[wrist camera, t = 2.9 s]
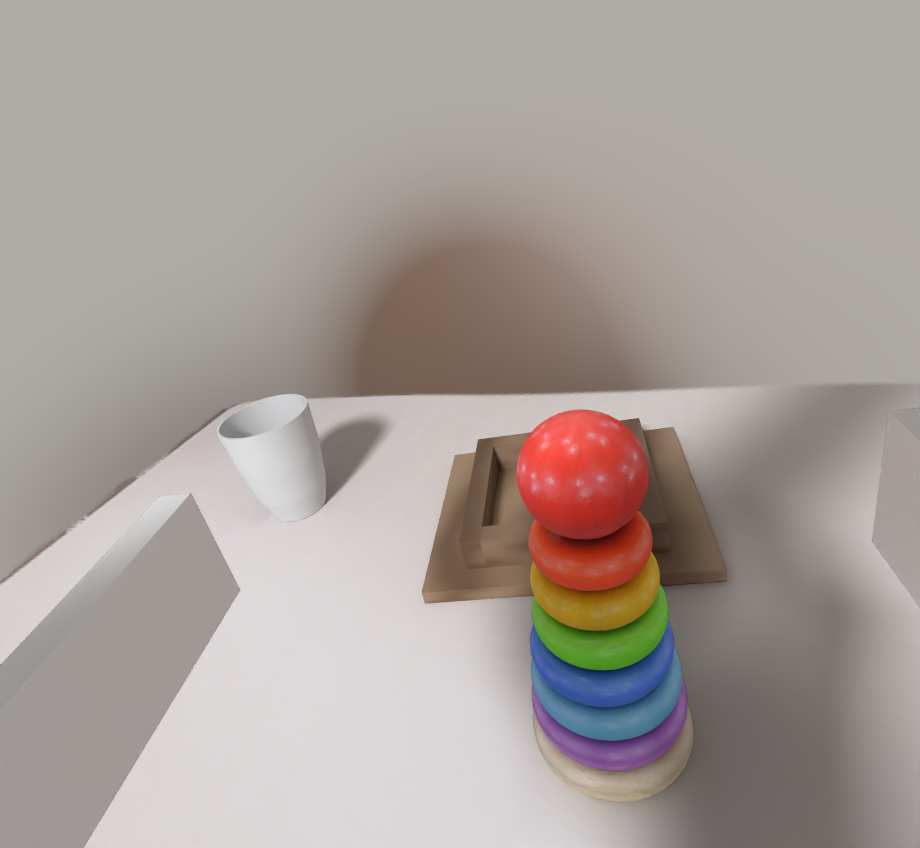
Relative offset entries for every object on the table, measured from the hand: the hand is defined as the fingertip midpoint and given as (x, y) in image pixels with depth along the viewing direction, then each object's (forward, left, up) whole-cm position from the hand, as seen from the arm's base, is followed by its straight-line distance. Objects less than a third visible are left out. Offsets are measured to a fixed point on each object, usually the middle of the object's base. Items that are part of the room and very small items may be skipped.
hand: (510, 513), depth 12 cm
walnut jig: (+1, -30, -23) cm, 37 cm away
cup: (+26, -35, -23) cm, 49 cm away
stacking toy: (-1, -11, -23) cm, 25 cm away
